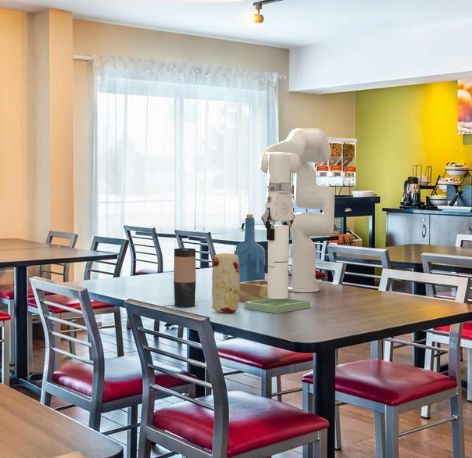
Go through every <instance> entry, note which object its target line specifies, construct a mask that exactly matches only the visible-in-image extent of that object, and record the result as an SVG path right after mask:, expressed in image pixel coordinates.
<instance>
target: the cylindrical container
mask: <svg viewBox="0 0 472 458" xmlns="http://www.w3.org/2000/svg"><path fill="white" fill-rule="evenodd" d="M273 229H275V240H274V241H271V240H267V281H268V298H271V299H285V298H289V291H288V287H289V259H290V257H289V255H290V253H289V251H290V249H289V248H290V245H289V243H290V239H289V225H283V224H275V225H274V227H273Z"/></svg>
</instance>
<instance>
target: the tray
mask: <svg viewBox="0 0 472 458" xmlns="http://www.w3.org/2000/svg"><path fill="white" fill-rule="evenodd" d="M310 308H311V301H310V300H304V299H297V298H291V297H288V298H285V299H271V298H268V299H261V300H254V301H248V302H245V303H244V309H247V310H251V311H258V312H264V313H269V314H270V313H271V314H281V313H288V312H293V311H299V310H305V309H310Z"/></svg>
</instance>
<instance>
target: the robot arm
mask: <svg viewBox="0 0 472 458" xmlns="http://www.w3.org/2000/svg"><path fill="white" fill-rule="evenodd" d="M331 155H332V147H331V145H330V141H329V140H328V137H327V135H326V133H325V132H324V130H323V129H321V128H315V127H314V128H312V127H311V128H305V127H304V128H295V129H292V130H291V131H290V132H289V133H288V134H287V136H286V138H285V140H282V141H280V142H277V143H274V144H271V145H269V146H267V147H266V148H265V149H264V151H263V152H262V154H261V156H260V159H259V168H260V170H261V172H262V173H264V174H266V175H267V186H266V188H267V192H266V198H265V206H264V213H263V214H262V215H261V217H260V219H261V222H262V223H263V225H264V228H265V229H266V241H268V240H271V241H274V240H275V229H273V227H274V225H276V222H281V225H289V240H290V239H291V286H288V292H293V293H318V292H319V291H320V287H318V285H322V284H323V280H322V279H318V278H316V275H317V274H316V272H317V271H316V270H317V269H316V267H317V266H316V265H317V263H316V261H317V259H316V258H317V249H316V248H317V247H316V244H315V243H314V242H313V240H312V239H311V237H330V236H332V234H333V233H334V228H335V192H334V189H333V188H332V186H330V185H324V184H322V185H321V184H319V185H317V172H316V169H315V168H314V166H313V165H312V164H311V163H327V162H328V161H329V160H330V159H331ZM293 174H294V201H293V195H292V192H291V191H290V190H291V175H293ZM294 203H295V206H296V207H297V208H298V209H303V210H321V211H322V212H313V211H312V212H311V211H300V212H294Z"/></svg>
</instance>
